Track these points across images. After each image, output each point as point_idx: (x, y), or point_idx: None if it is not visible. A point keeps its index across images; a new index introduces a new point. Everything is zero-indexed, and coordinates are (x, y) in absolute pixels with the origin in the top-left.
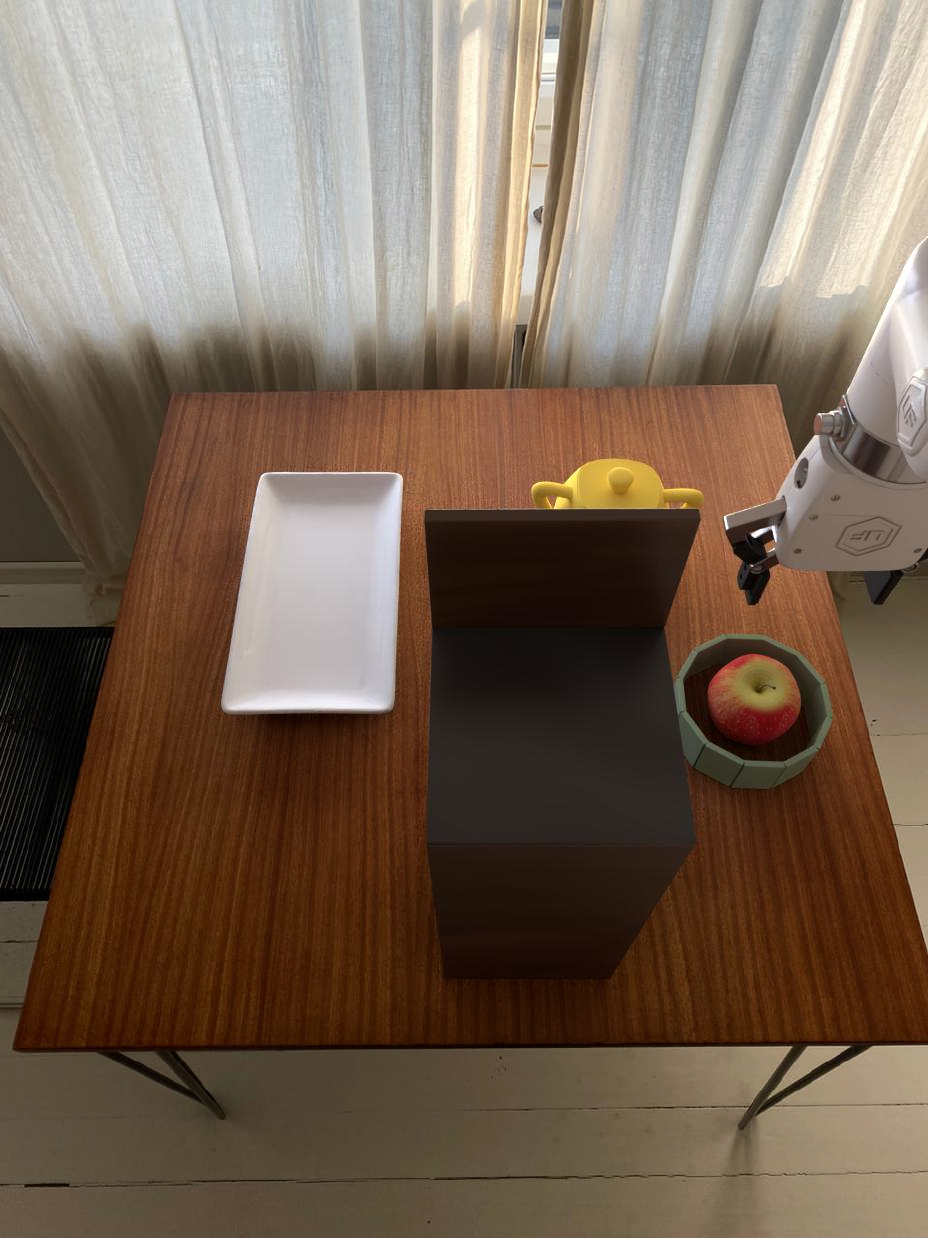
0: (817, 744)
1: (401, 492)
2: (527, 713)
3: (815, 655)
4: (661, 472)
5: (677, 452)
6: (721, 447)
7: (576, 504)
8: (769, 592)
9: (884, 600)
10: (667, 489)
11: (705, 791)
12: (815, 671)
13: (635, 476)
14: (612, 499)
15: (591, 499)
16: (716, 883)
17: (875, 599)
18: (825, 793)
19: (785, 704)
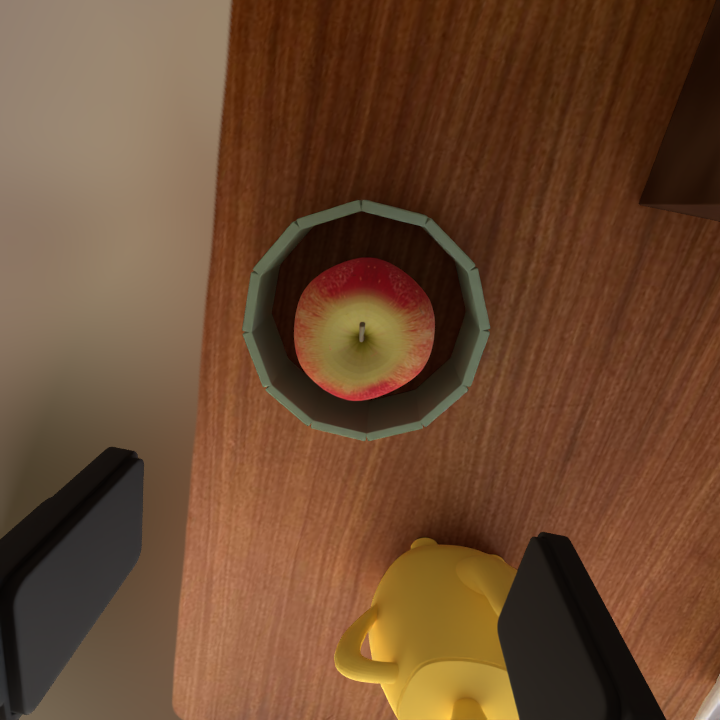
0: (294, 230)
1: (705, 716)
2: None
3: (228, 385)
4: None
5: (307, 677)
6: (250, 672)
7: None
8: (258, 482)
9: (96, 461)
10: (387, 683)
11: (459, 216)
12: (252, 354)
13: (433, 716)
14: (486, 692)
15: None
16: (505, 61)
17: (127, 471)
18: (287, 176)
19: (334, 300)
